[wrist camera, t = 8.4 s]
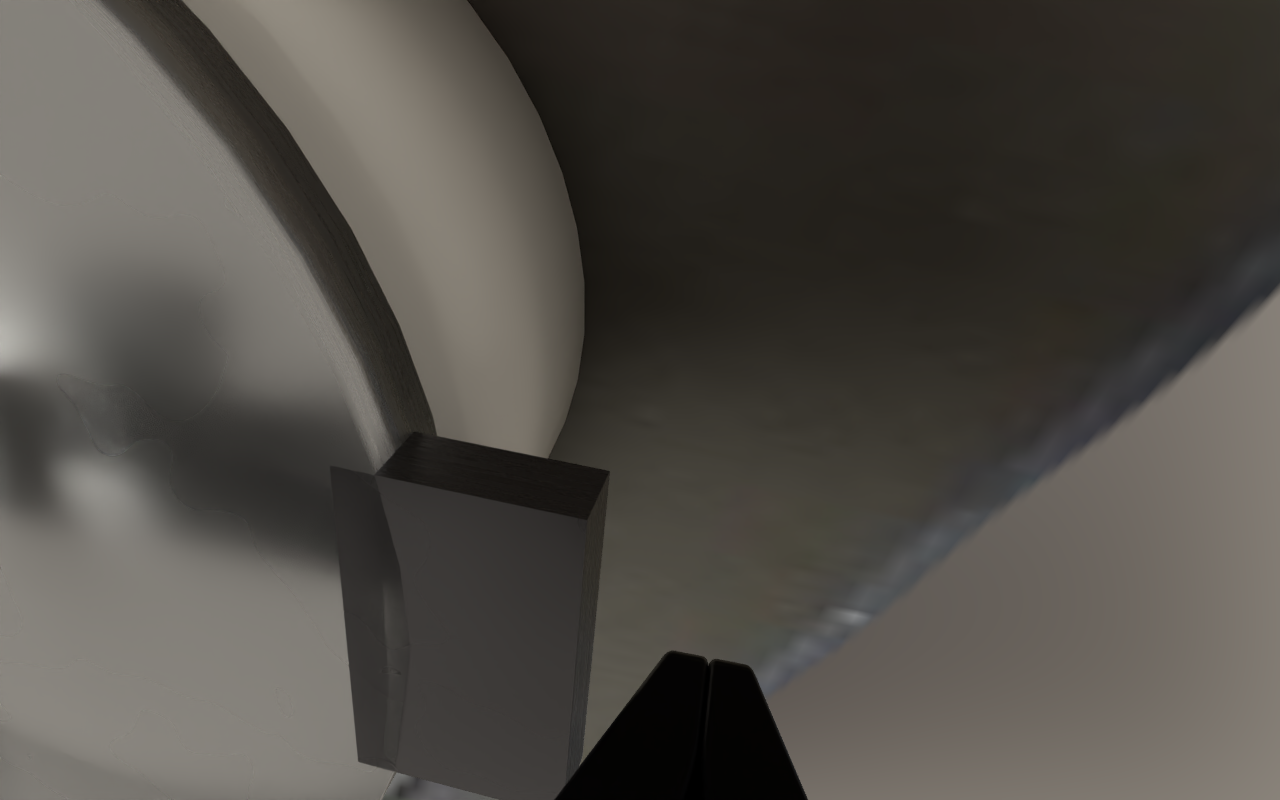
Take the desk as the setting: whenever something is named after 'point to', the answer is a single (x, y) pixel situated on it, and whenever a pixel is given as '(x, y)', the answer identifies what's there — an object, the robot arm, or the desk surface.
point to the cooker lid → (244, 466)
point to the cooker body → (434, 195)
